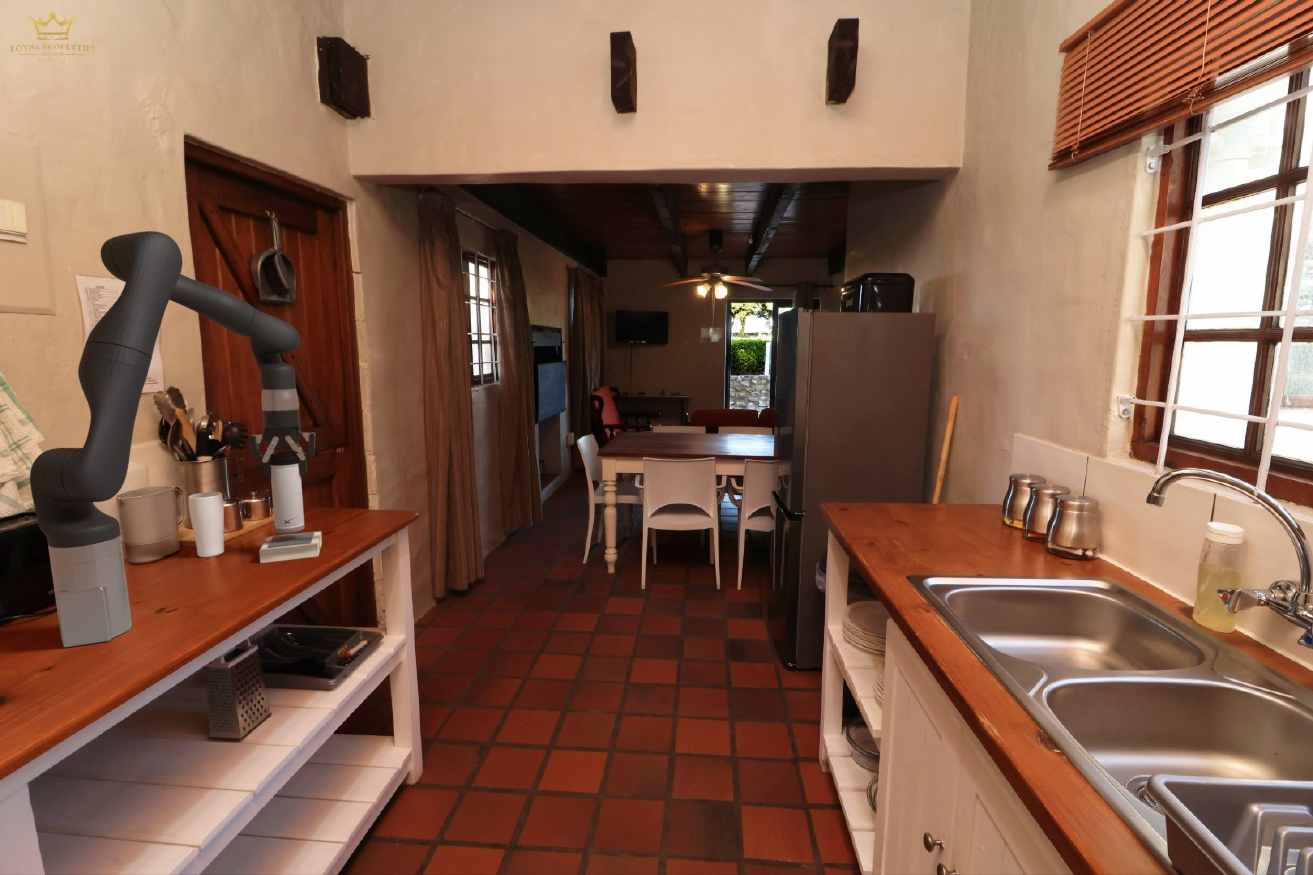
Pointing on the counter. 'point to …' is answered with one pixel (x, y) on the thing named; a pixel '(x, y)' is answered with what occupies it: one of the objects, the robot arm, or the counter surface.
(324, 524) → the counter surface
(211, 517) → the white tall cylinder
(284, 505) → the travel mug
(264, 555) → the base
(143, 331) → the robot arm
